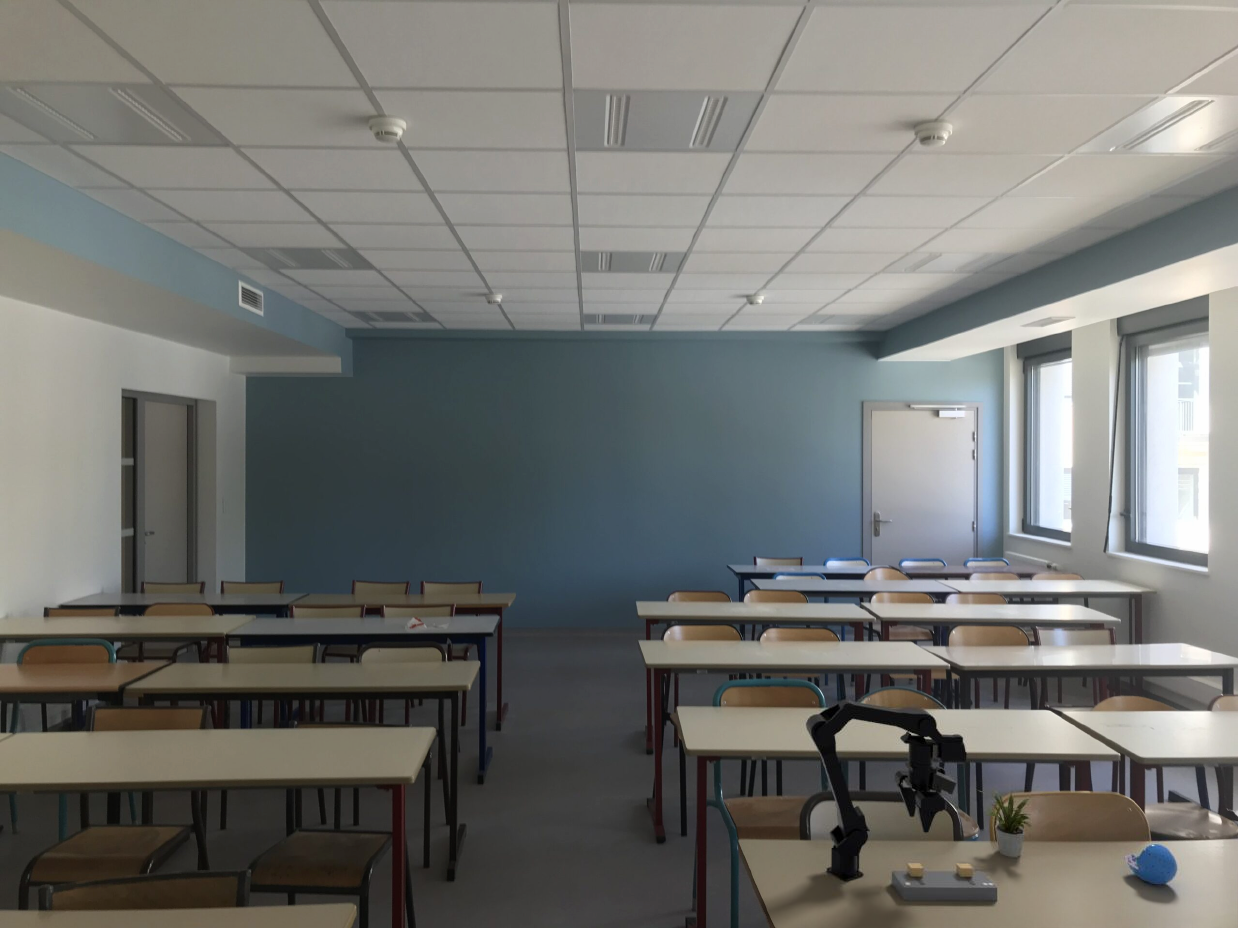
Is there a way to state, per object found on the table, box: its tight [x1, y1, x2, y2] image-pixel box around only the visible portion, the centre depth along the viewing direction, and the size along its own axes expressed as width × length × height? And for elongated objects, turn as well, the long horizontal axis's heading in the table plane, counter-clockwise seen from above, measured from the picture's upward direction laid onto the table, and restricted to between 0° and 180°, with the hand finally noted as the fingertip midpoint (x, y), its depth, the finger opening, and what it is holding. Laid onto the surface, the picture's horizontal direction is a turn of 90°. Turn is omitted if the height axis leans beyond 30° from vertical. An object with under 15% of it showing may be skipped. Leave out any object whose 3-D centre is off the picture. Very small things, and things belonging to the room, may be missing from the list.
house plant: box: [976, 789, 1033, 858], centre depth 214 cm, size 14×14×16 cm
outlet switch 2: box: [955, 863, 974, 877], centre depth 195 cm, size 3×2×2 cm
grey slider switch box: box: [891, 870, 998, 902], centre depth 193 cm, size 22×8×3 cm, turn 91°
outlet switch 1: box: [906, 862, 924, 877], centre depth 195 cm, size 3×2×2 cm
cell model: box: [1123, 843, 1178, 885], centre depth 200 cm, size 10×12×10 cm
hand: (918, 824), depth 201 cm, fingers open, 9 cm apart
